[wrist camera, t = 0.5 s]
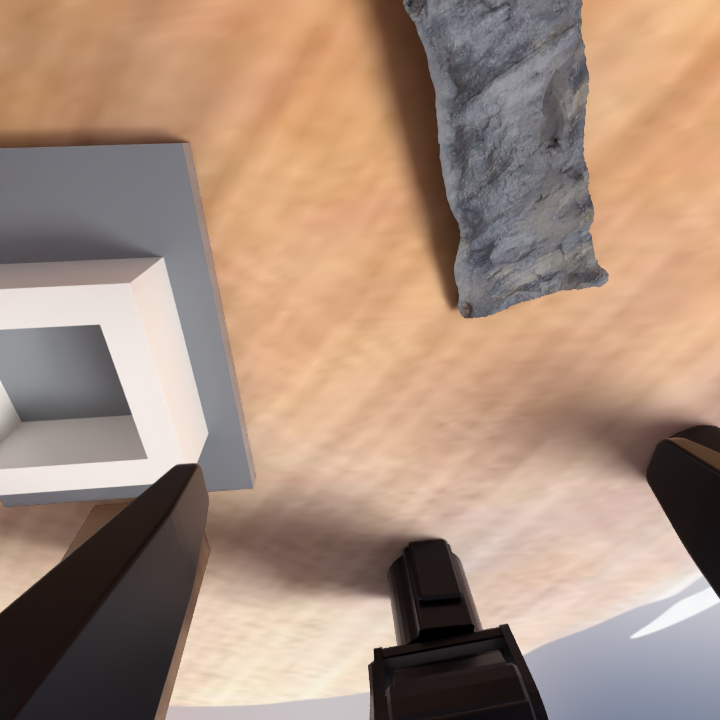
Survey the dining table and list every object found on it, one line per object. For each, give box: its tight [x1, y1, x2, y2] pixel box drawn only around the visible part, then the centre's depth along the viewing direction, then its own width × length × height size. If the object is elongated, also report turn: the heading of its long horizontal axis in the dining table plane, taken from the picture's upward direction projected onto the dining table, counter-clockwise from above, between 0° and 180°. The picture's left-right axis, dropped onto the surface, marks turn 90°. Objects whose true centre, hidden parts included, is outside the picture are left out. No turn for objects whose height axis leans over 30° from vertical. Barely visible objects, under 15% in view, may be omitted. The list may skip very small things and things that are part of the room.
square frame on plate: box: [0, 143, 256, 507], centre depth 19 cm, size 18×14×4 cm
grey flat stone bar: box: [403, 0, 609, 318], centre depth 15 cm, size 21×7×2 cm, turn 19°
